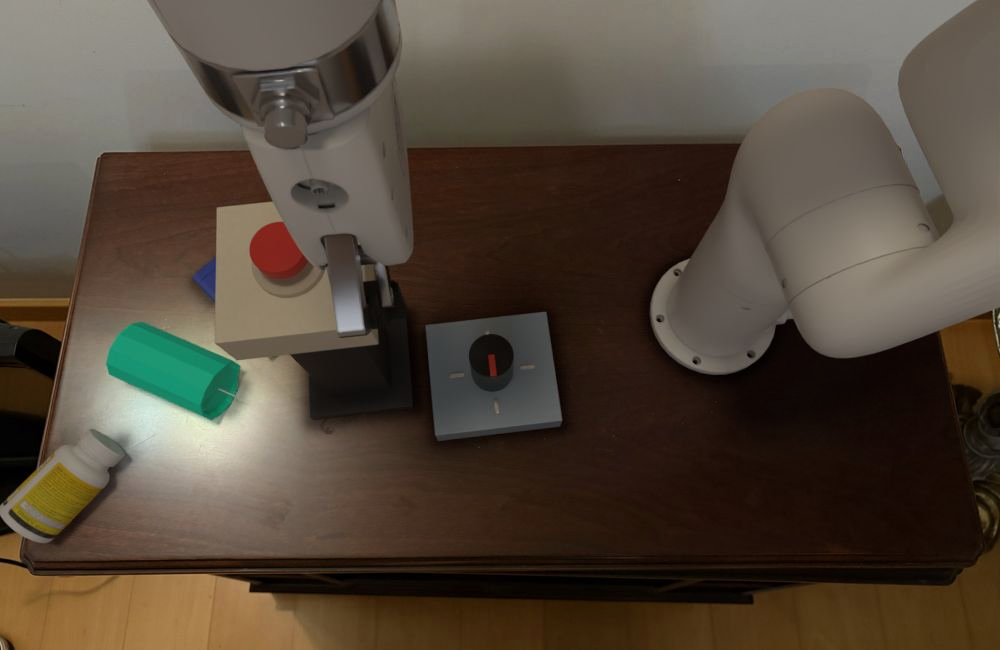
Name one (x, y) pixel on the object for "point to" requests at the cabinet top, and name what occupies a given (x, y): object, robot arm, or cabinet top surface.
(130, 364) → the candle
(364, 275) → the switch tower
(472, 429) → the dial panel
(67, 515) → the supplement bottle
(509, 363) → the dial
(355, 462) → the cabinet top surface
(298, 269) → the power button
